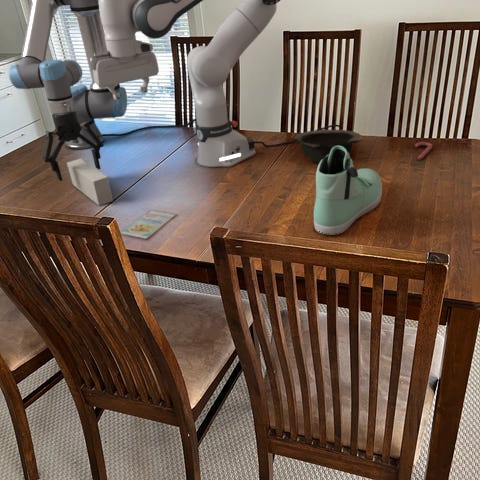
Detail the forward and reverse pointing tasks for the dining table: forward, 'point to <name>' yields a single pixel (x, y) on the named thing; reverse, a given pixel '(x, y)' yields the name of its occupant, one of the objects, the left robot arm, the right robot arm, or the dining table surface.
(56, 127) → the left robot arm
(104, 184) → the bar
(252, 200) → the dining table surface
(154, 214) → the baking ingredient package
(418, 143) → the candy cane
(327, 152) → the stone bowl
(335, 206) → the sneaker
